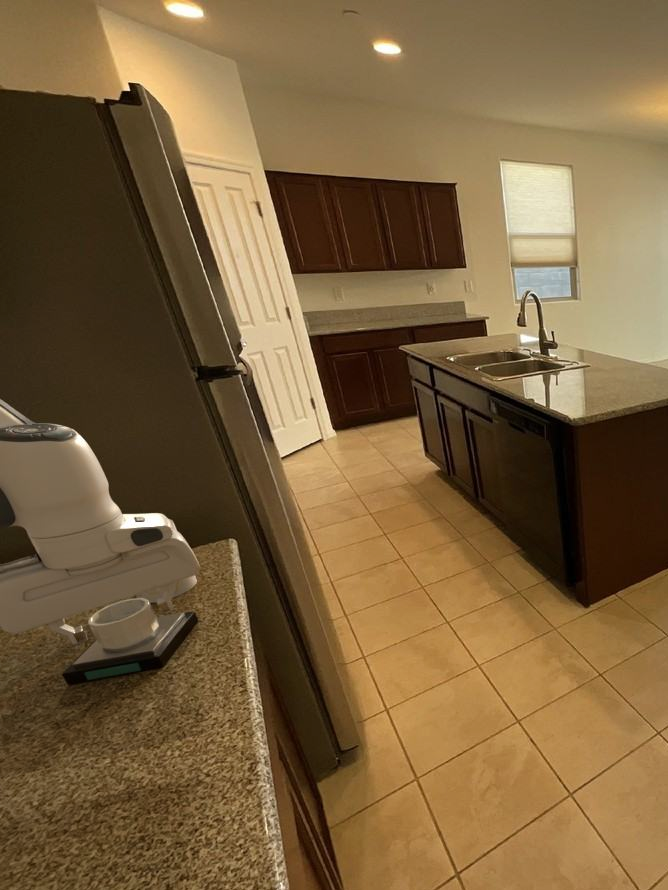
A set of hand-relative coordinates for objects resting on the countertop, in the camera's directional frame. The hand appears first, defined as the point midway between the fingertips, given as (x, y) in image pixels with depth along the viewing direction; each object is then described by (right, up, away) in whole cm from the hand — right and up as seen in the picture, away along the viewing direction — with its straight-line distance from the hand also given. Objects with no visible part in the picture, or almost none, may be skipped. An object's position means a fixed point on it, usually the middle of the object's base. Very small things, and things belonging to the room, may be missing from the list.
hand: (125, 624), depth 76 cm
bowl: (0, -2, +1) cm, 2 cm away
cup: (-9, +2, +17) cm, 19 cm away
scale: (0, -4, +2) cm, 5 cm away
